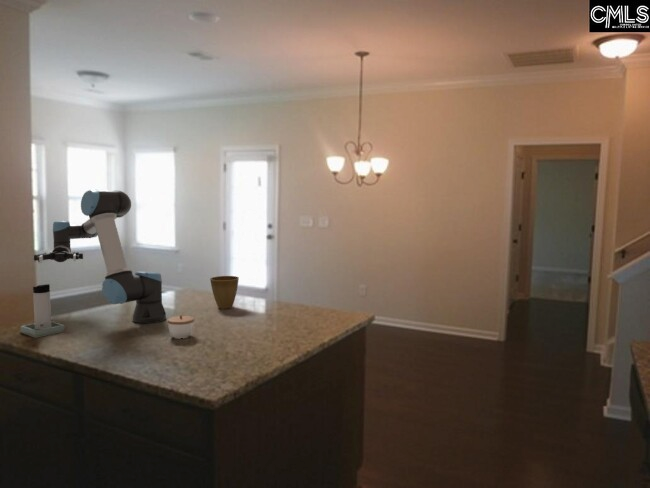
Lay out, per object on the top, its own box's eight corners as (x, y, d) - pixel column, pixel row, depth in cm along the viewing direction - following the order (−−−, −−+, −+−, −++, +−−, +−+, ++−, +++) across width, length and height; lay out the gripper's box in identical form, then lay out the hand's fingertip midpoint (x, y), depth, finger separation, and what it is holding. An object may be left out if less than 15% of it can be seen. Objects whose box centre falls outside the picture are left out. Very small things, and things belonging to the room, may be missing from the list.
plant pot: (229, 303, 272) (229, 274, 270) (244, 307, 261) (244, 278, 259) (205, 306, 262) (204, 277, 260) (219, 312, 251) (219, 281, 249)
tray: (64, 331, 212) (64, 325, 211) (35, 337, 202) (34, 331, 202) (49, 326, 219) (49, 320, 219) (20, 332, 209) (20, 325, 209)
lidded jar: (199, 334, 210) (199, 313, 209) (184, 341, 200) (184, 319, 199) (178, 332, 213) (177, 311, 212) (162, 338, 203) (162, 316, 202)
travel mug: (44, 332, 207) (42, 285, 205) (31, 331, 208) (29, 285, 206) (55, 328, 213) (53, 283, 211) (42, 327, 214) (40, 282, 212)
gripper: (89, 260, 246) (88, 265, 227) (31, 262, 236) (26, 268, 217) (88, 245, 245) (87, 249, 226) (31, 247, 235) (25, 251, 216)
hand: (57, 259), depth 221 cm, fingers open, 13 cm apart
